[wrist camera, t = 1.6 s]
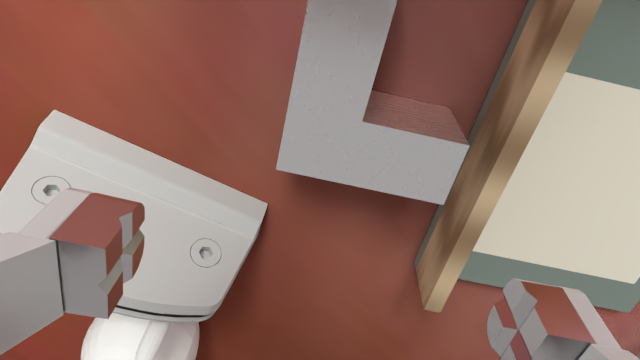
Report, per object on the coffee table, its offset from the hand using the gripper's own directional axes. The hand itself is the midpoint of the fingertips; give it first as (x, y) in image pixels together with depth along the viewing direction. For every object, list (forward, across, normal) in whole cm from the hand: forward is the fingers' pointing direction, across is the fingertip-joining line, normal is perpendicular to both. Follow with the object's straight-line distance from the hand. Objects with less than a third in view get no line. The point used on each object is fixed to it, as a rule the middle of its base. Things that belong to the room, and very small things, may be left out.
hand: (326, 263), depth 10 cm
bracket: (+20, -3, 0) cm, 20 cm away
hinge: (+20, +11, +14) cm, 27 cm away
